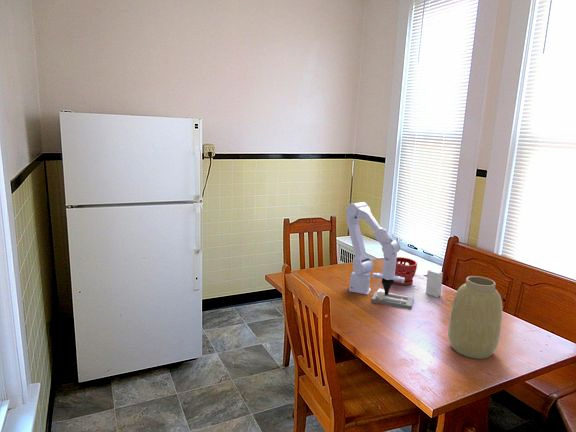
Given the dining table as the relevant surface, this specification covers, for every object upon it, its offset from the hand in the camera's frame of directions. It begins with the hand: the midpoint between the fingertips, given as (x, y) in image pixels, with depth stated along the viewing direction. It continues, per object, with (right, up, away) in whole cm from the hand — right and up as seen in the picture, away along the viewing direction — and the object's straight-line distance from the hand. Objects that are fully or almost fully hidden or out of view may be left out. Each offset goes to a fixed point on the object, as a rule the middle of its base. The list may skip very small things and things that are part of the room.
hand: (386, 294), depth 192 cm
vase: (+21, -13, -41) cm, 48 cm away
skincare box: (+25, -2, +10) cm, 27 cm away
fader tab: (-2, -1, +1) cm, 3 cm away
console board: (+3, -3, 0) cm, 4 cm away
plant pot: (+14, +1, +25) cm, 28 cm away
